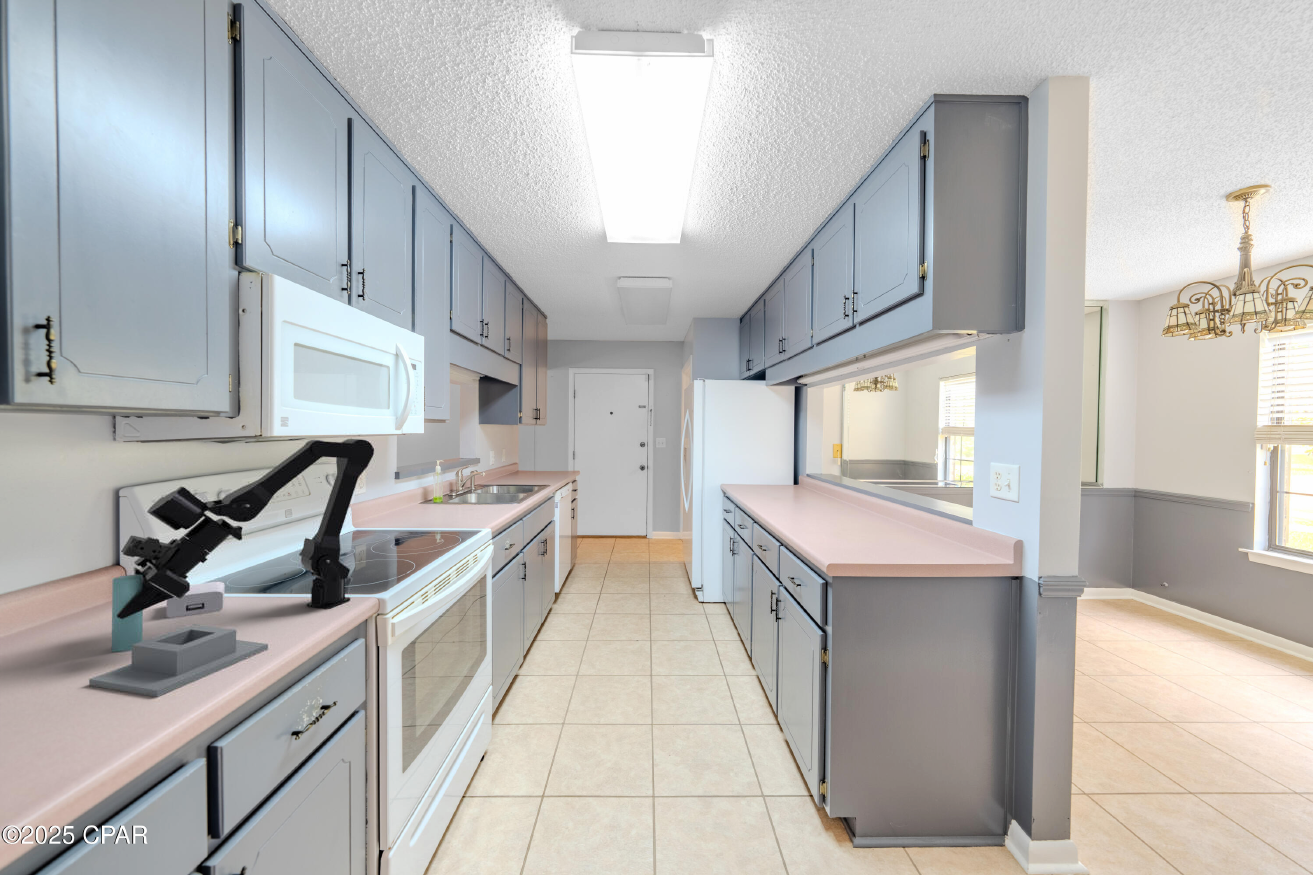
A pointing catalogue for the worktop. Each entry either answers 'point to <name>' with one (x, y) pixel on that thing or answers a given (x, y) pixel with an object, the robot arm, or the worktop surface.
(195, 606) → the charger
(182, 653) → the socket holder
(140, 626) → the peg
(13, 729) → the worktop surface
